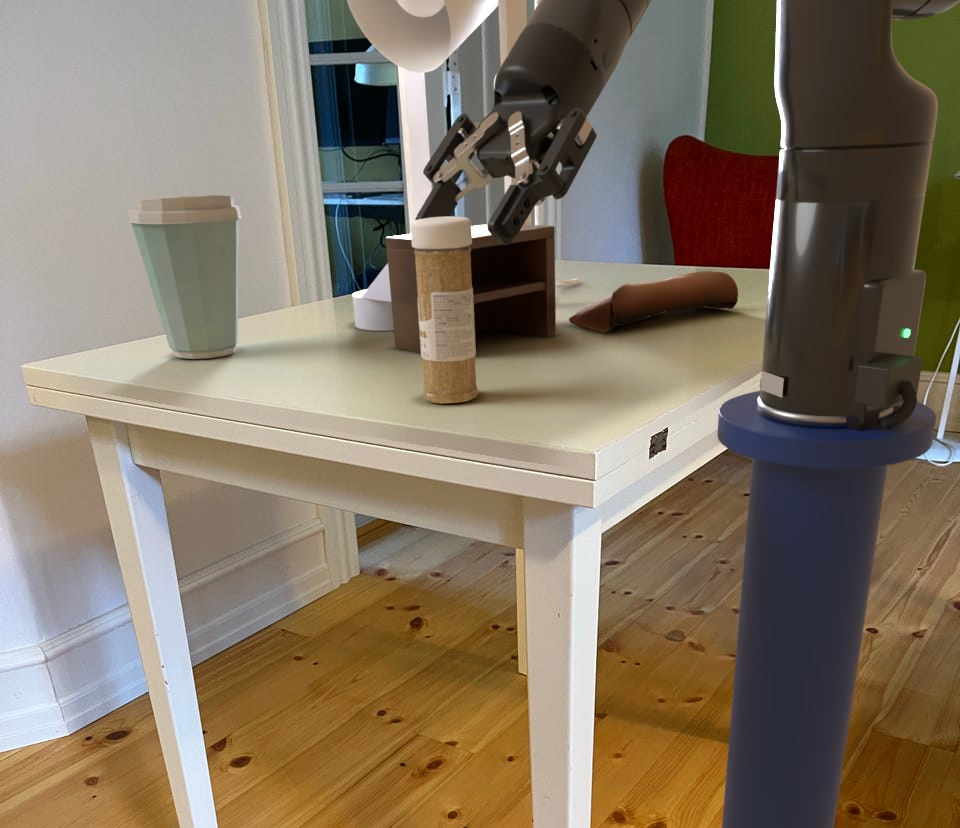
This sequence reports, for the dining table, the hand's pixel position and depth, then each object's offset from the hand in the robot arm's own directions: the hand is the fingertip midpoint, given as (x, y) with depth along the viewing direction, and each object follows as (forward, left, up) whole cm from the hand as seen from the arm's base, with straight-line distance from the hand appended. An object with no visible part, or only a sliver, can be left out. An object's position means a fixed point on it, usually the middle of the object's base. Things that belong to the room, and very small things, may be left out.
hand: (459, 234), depth 75 cm
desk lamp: (+35, -34, -12) cm, 51 cm away
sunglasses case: (+9, -35, -12) cm, 38 cm away
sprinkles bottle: (0, +2, -12) cm, 12 cm away
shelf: (+16, -15, -12) cm, 25 cm away
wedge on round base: (+30, -17, -12) cm, 37 cm away
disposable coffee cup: (+35, +5, -12) cm, 37 cm away
